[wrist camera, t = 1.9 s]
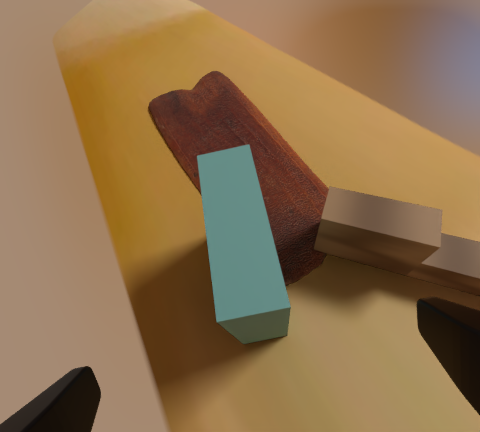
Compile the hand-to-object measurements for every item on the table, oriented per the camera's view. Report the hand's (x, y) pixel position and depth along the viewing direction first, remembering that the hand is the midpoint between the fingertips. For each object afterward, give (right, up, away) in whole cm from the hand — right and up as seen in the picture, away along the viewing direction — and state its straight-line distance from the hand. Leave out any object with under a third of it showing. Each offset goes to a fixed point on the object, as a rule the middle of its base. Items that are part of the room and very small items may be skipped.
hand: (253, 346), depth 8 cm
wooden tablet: (-1, +9, +20) cm, 22 cm away
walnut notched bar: (+14, 0, +12) cm, 19 cm away
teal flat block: (+1, -1, +14) cm, 14 cm away
